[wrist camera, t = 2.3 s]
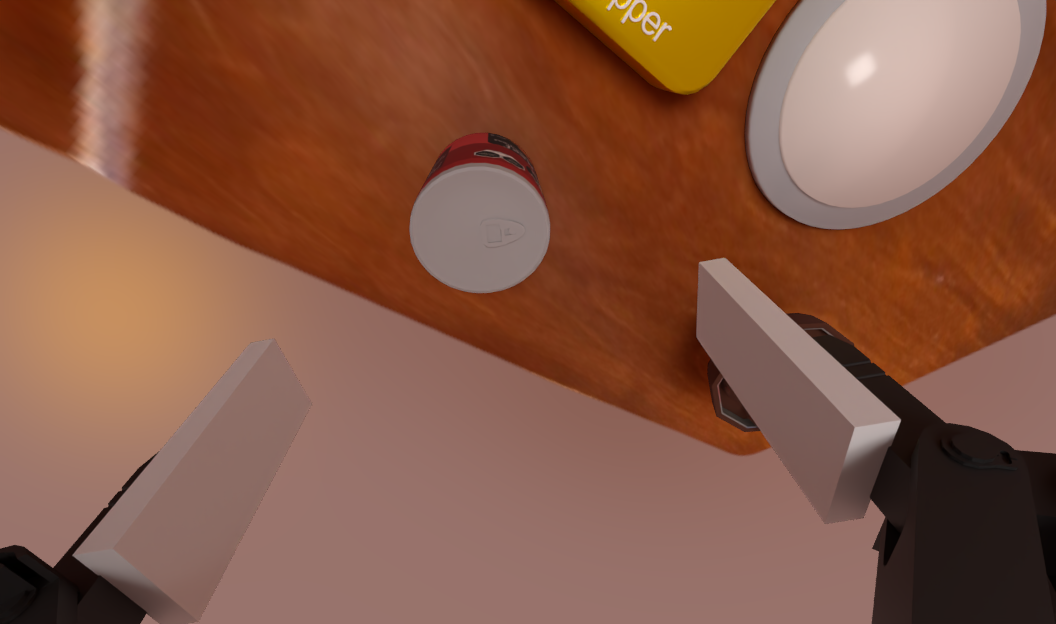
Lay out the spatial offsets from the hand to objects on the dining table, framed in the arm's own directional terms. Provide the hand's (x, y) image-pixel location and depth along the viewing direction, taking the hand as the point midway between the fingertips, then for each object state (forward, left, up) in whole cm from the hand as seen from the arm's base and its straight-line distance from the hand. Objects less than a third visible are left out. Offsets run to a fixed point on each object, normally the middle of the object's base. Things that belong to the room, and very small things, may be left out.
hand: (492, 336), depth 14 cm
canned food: (-1, -1, -23) cm, 23 cm away
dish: (+29, +1, -23) cm, 37 cm away
